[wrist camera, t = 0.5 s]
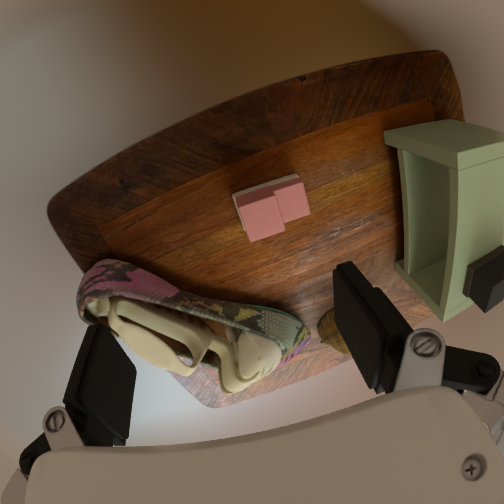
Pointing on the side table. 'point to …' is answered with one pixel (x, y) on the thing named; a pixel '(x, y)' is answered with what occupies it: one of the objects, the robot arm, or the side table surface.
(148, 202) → the side table surface
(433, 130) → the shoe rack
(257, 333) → the ballet flat
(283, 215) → the pink stepped block
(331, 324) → the seashell
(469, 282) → the black stepped block
